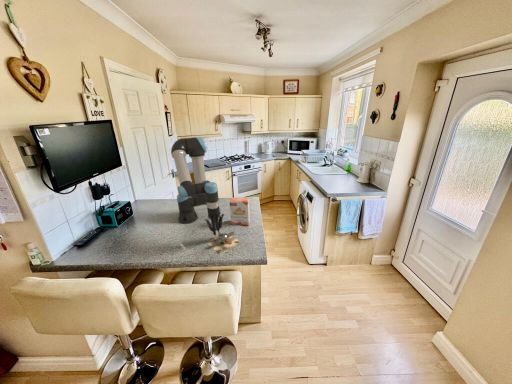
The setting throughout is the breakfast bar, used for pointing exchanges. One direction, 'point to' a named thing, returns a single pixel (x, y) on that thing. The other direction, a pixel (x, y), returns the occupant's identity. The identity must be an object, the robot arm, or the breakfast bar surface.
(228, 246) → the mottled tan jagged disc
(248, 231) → the breakfast bar surface
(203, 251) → the breakfast bar surface
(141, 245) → the breakfast bar surface
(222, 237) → the capstan
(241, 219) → the cracker box
